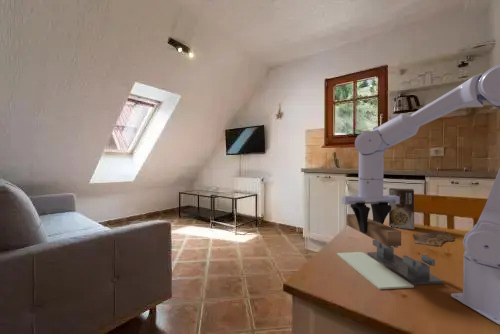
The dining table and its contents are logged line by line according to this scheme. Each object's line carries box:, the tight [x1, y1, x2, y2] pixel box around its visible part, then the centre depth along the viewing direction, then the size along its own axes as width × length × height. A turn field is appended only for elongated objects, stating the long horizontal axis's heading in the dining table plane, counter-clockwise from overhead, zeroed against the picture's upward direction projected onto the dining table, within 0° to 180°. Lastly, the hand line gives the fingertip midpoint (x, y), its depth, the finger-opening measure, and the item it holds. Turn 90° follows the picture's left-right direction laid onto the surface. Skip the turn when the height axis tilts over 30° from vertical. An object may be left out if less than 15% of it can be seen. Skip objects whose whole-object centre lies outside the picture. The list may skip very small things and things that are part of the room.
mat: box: [336, 251, 415, 290], centre depth 62 cm, size 20×8×1 cm, turn 6°
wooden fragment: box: [413, 230, 456, 247], centre depth 88 cm, size 26×11×1 cm, turn 122°
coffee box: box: [388, 187, 415, 230], centre depth 103 cm, size 9×6×16 cm
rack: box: [366, 239, 444, 286], centre depth 63 cm, size 18×7×5 cm, turn 6°
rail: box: [346, 213, 402, 247], centre depth 62 cm, size 18×3×3 cm, turn 6°
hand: (370, 231), depth 62 cm, fingers closed on rail, 3 cm apart
